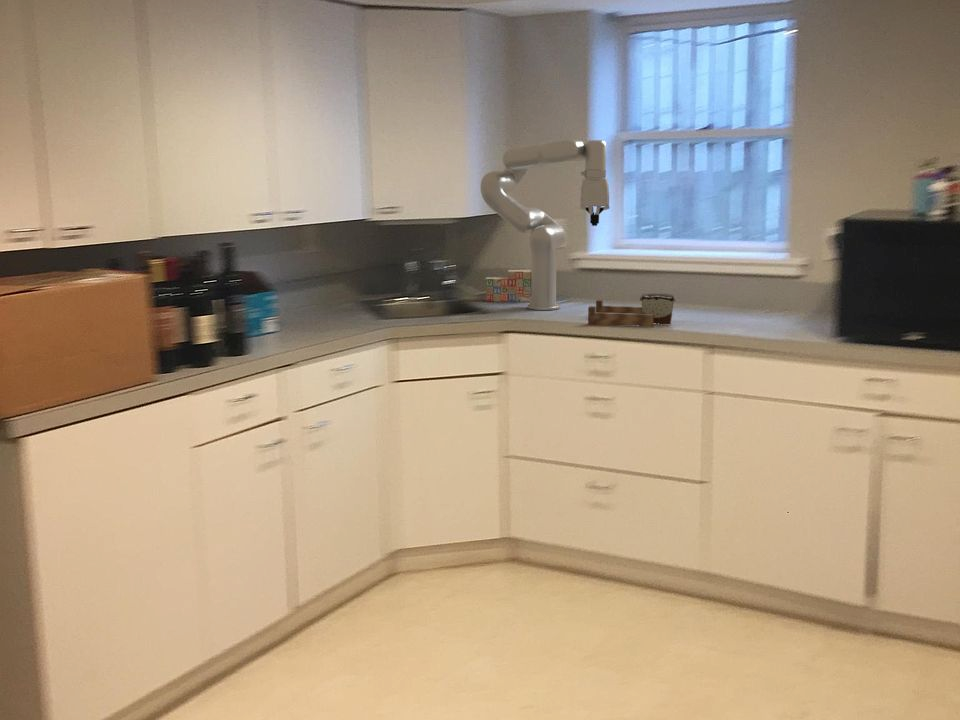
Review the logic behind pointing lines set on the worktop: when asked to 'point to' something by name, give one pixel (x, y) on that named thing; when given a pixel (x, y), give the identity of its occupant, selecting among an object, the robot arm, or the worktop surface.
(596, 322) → the wooden tray
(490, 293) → the stack of blocks
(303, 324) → the worktop surface
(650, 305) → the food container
